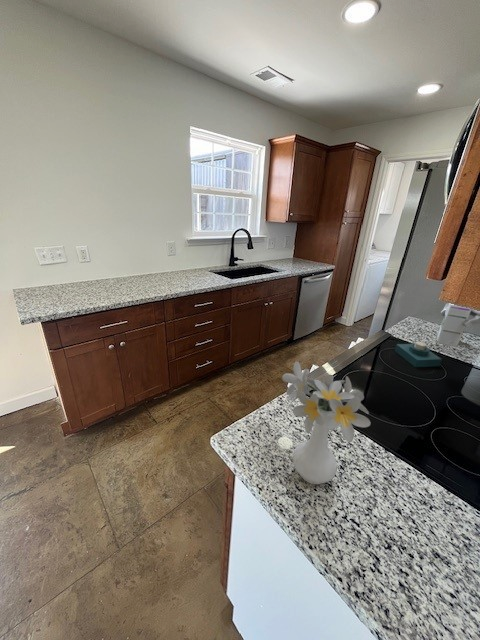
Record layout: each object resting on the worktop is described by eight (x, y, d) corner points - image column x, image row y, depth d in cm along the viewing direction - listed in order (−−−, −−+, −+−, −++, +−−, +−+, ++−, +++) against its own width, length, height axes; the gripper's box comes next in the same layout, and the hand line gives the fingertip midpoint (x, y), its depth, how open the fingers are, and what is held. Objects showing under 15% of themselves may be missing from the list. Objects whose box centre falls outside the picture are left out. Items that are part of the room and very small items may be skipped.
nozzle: (427, 350, 102) (428, 345, 101) (418, 350, 101) (420, 346, 100) (420, 345, 105) (421, 341, 104) (411, 346, 104) (413, 341, 104)
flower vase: (295, 430, 69) (308, 347, 59) (362, 484, 57) (393, 390, 46) (259, 457, 62) (267, 367, 52) (327, 526, 49) (355, 425, 39)
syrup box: (457, 347, 90) (473, 307, 84) (436, 342, 92) (450, 303, 87) (455, 341, 94) (470, 302, 88) (435, 336, 97) (449, 299, 91)
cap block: (439, 366, 100) (443, 355, 98) (415, 367, 99) (419, 355, 97) (416, 350, 111) (420, 339, 109) (394, 350, 110) (397, 340, 108)
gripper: (459, 277, 95) (426, 303, 98) (520, 295, 77) (477, 326, 80) (465, 289, 98) (433, 314, 100) (526, 310, 79) (484, 339, 82)
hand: (452, 319), depth 90 cm, fingers closed on syrup box, 7 cm apart
